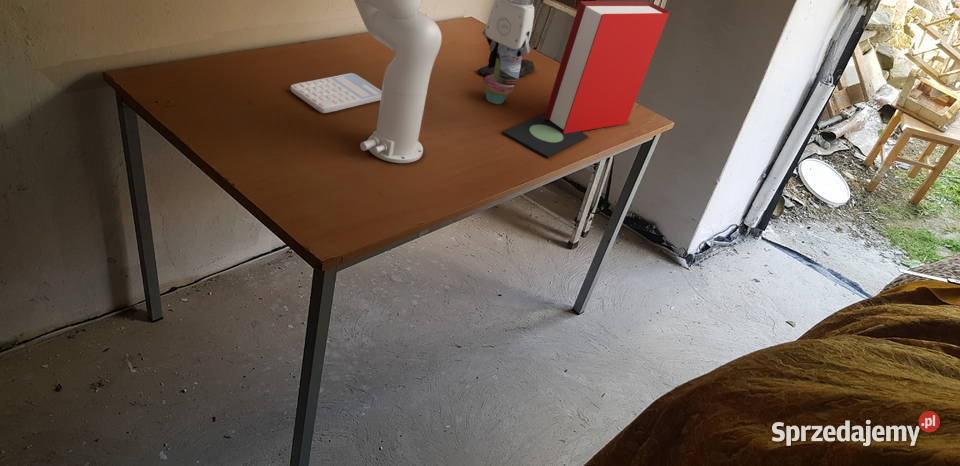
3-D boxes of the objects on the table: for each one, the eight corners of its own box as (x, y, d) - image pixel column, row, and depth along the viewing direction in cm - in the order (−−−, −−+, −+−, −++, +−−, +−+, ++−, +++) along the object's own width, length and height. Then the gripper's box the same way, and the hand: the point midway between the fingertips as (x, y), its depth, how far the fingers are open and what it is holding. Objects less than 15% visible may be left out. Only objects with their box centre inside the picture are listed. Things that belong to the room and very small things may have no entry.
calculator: (288, 90, 171) (288, 83, 170) (352, 77, 184) (353, 71, 183) (322, 115, 165) (322, 107, 164) (386, 99, 178) (387, 92, 177)
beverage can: (503, 91, 167) (515, 44, 160) (483, 78, 171) (495, 31, 164) (521, 89, 171) (535, 42, 164) (502, 76, 175) (514, 30, 168)
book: (563, 133, 183) (603, 13, 165) (543, 119, 187) (580, 1, 170) (629, 123, 200) (672, 13, 182) (609, 110, 204) (649, 1, 187)
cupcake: (506, 110, 189) (517, 68, 182) (476, 101, 189) (485, 59, 182) (511, 98, 196) (522, 58, 189) (482, 90, 196) (491, 49, 189)
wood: (492, 83, 201) (494, 73, 199) (475, 72, 205) (477, 62, 203) (543, 74, 215) (546, 65, 214) (526, 64, 219) (529, 55, 218)
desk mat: (547, 158, 171) (548, 156, 171) (502, 133, 177) (502, 131, 177) (587, 137, 186) (587, 135, 185) (544, 115, 191) (545, 112, 191)
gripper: (480, -16, 160) (463, 59, 171) (538, 10, 154) (517, 87, 164) (498, -19, 166) (481, 54, 176) (556, 6, 159) (534, 81, 170)
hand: (499, 69), depth 170 cm, fingers closed on beverage can, 3 cm apart
